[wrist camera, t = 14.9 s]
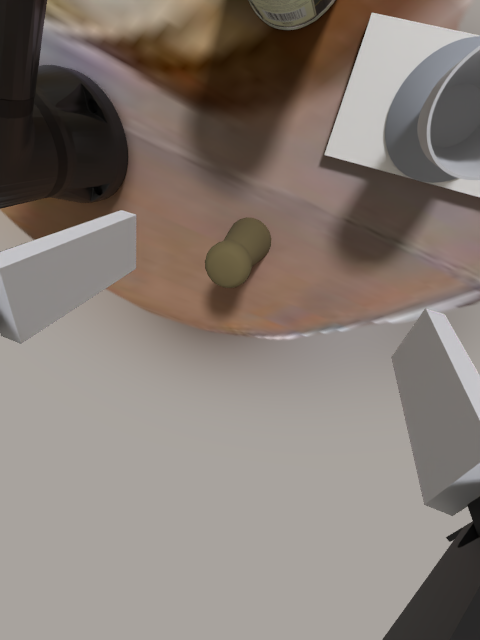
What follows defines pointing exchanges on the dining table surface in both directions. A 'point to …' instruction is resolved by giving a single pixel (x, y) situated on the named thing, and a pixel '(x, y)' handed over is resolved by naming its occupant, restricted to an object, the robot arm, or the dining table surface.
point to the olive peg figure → (238, 253)
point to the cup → (454, 120)
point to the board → (397, 98)
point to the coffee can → (290, 12)
